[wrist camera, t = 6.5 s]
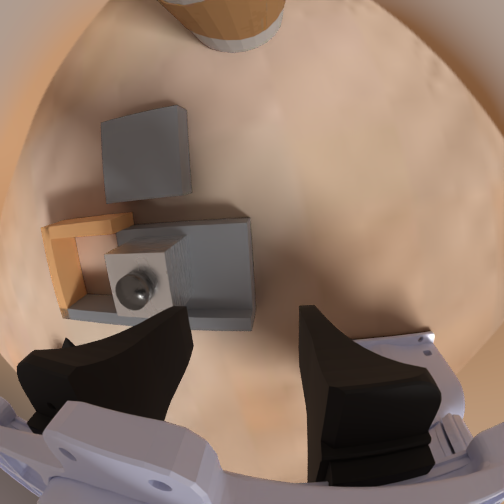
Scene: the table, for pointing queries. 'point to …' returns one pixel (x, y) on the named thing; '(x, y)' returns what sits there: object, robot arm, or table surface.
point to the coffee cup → (229, 21)
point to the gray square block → (146, 155)
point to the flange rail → (201, 259)
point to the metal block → (150, 275)
